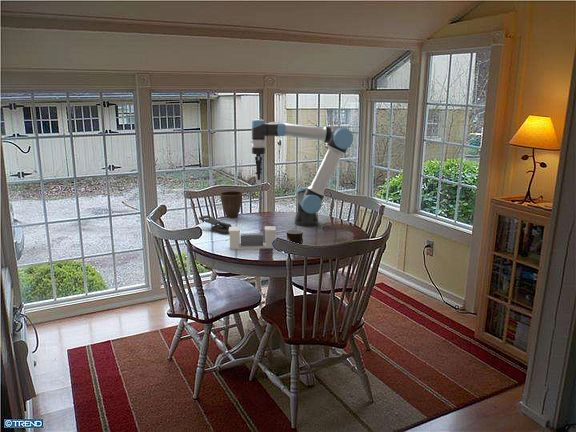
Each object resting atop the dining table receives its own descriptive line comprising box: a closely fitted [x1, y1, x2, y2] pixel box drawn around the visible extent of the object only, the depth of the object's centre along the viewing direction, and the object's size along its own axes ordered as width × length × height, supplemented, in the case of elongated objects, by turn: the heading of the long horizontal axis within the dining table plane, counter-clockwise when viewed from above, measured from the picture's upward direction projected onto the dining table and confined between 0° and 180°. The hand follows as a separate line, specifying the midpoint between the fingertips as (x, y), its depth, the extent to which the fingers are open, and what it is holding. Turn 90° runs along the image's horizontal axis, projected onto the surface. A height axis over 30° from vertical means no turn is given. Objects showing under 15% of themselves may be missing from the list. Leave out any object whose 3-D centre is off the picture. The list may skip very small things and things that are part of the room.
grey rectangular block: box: [240, 232, 264, 246], centre depth 263 cm, size 12×4×6 cm, turn 94°
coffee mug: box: [286, 228, 304, 245], centre depth 256 cm, size 12×9×10 cm
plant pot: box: [219, 190, 244, 219], centre depth 326 cm, size 15×15×16 cm
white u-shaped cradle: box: [229, 225, 277, 250], centre depth 263 cm, size 25×8×10 cm, turn 94°
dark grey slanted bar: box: [198, 215, 233, 235], centre depth 296 cm, size 9×7×25 cm
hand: (258, 183), depth 289 cm, fingers open, 13 cm apart
